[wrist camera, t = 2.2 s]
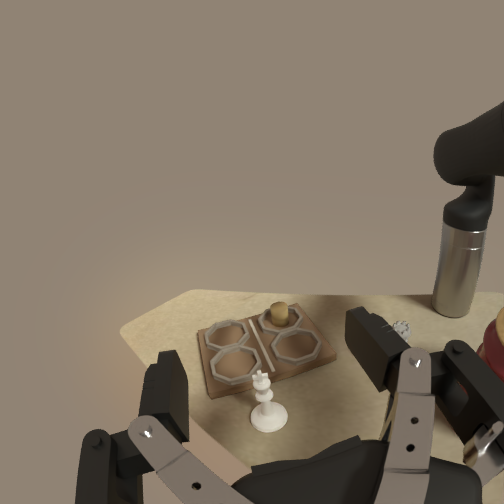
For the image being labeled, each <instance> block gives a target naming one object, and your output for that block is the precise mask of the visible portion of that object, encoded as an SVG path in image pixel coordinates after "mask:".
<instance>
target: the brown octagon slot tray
mask: <svg viewBox="0 0 504 504" xmlns="http://www.w3.org/2000/svg"><path fill="white" fill-rule="evenodd" d="M198 336H199V342H200V348H201V354H202V360H203V365H204V371H205V376H206V382H207V387H208V392H209V395H210V397H211V399H215V398H219V397H223V396H227V395H231V394H235V393H239V392H243V391H246V390H250V389H253V388H254V387H253V381H254V380H253V378H252V375H257V371H258V370H261V373H262V374H263V373H268V379H269V380H270V382H271V383H273V382H276V381H280V380H283V379H286V378H289V377H292V376H294V375H297V374H300V373H303V372H306V371H308V370H311V369H314V368H316V367H319V366H322V365H324V364H327V363H329V362H332V361H334V360H336V354H337V353H336V352H335V351H334V349H333V348H332V347H331V345H330V344H329V343H328V342H327V340H326V339H325V338H324V337H323V335H322V334H321V333H320V331H319V330H318V329H317V328H316V326H315V325H314V324H313V323H312V321H311V320H310V319H309V318H308V316H307V315H306V314H305V312H304V311H303V310H302V309H301V307H300V306H299V305H298V304H297V303H296V304H293V305H290V306H287V304H286V303H284V302H276V303H273V304H272V305H271V306H270V309H266V310H265V311H264V312H263V314H259V315H255V316H252V317H248V318H245V319H241V320H237V321H235V320H226V321H222V322H218V323H215V324H213V325H212V326H211V327H210V328H206V329H202V330H198Z"/></svg>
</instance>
